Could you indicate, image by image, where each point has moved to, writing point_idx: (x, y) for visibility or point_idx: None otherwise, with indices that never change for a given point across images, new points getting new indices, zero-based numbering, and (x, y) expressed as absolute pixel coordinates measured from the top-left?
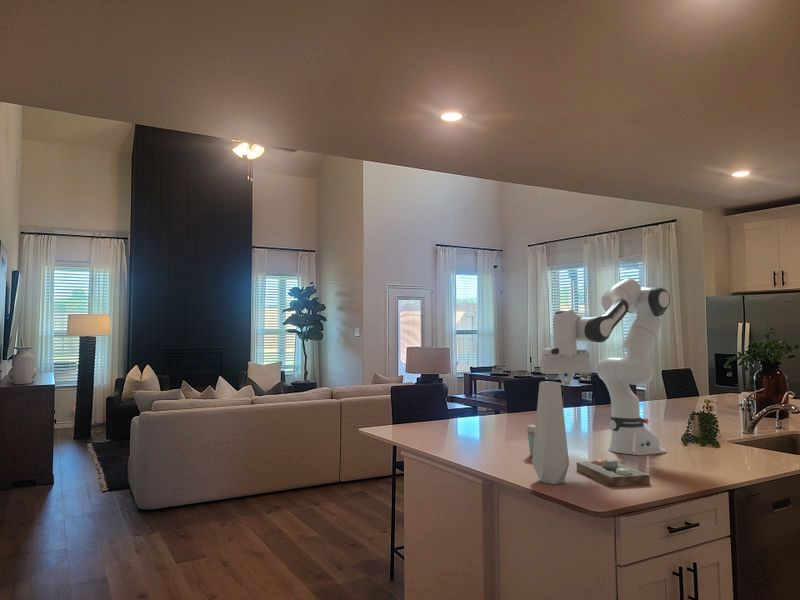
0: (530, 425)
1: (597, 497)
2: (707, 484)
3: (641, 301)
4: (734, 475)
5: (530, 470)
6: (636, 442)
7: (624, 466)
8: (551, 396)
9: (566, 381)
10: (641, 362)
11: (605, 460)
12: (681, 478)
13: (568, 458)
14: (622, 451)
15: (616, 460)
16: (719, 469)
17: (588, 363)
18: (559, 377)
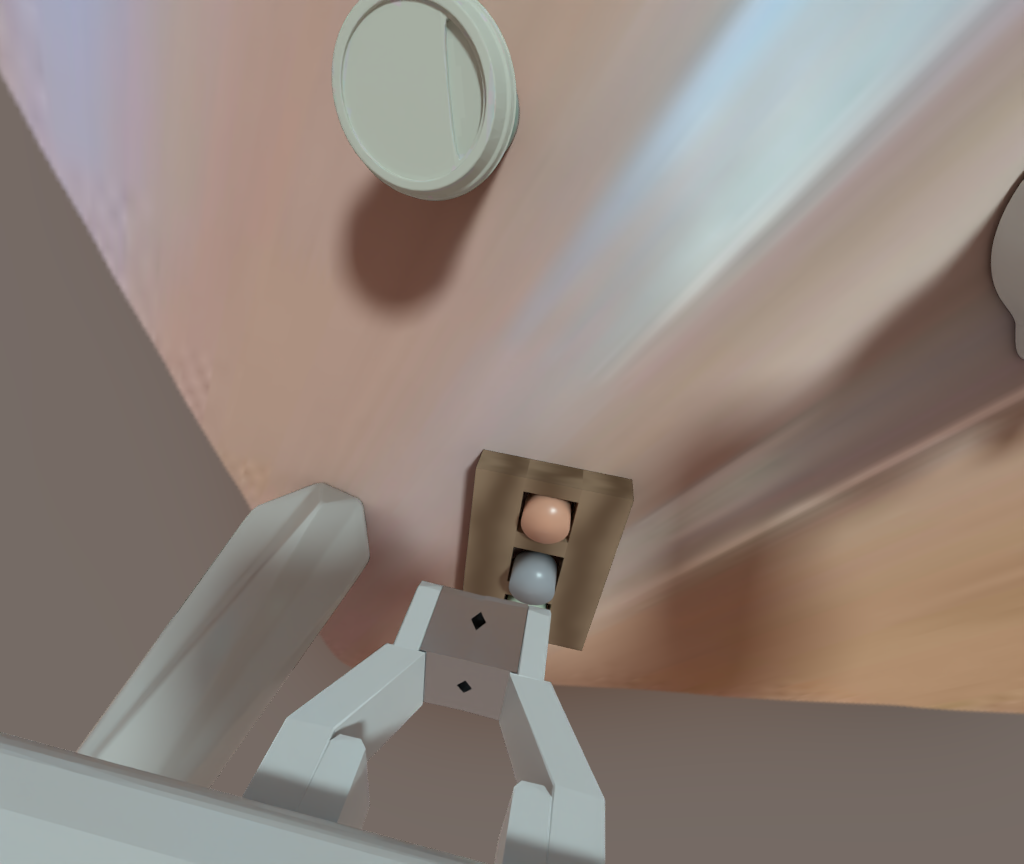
0: (371, 22)
1: (383, 630)
2: (726, 682)
3: None
4: (919, 679)
5: (316, 381)
6: None
7: (595, 574)
8: None
9: (455, 693)
10: None
11: (516, 580)
12: (726, 633)
13: (359, 574)
14: (1005, 282)
15: (552, 595)
16: (985, 634)
17: None
18: (322, 692)
